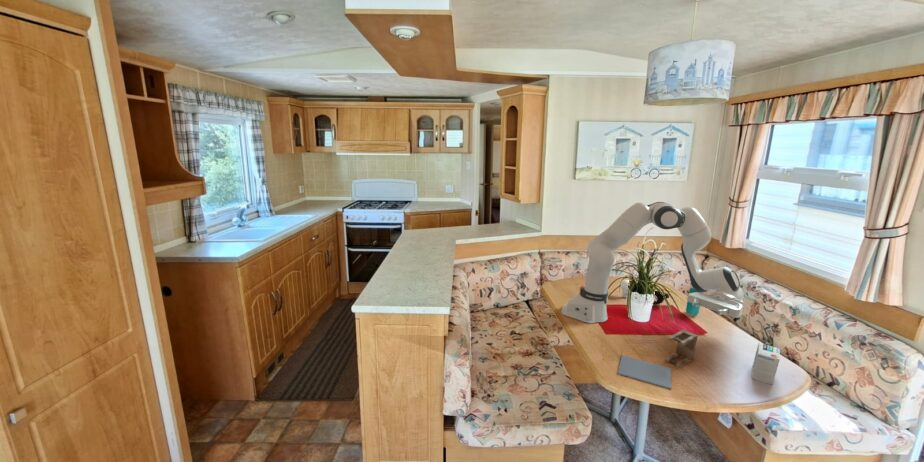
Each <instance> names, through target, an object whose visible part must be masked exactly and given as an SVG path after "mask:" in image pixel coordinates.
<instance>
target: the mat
mask: <svg viewBox="0 0 924 462" xmlns="http://www.w3.org/2000/svg"><path fill="white" fill-rule="evenodd" d="M617 375H620V376H624V377H626V378H627V377H628V378H630V379H633V380H637V381H641V382H644V383H648V384H651V385H653V386H656V387H657V386H658V387H660V388H661V387H662V388H665V389H668V390H672V368H671V367H667V366H663V365H661V364H660V365H659V364H656V363H652V362H649V361H645V360H642V359H641V360H640V359H638V358H634V357H629V356H627V355H621V357H620V361H619V367H618V371H617Z"/></svg>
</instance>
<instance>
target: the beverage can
mask: <svg viewBox="0 0 924 462" xmlns="http://www.w3.org/2000/svg"><path fill="white" fill-rule="evenodd" d="M693 292H699V291H697V290H695V289H694V288H693V287H692V285H690V288H689V291H688V294H690V293H693ZM699 293H701V292H699ZM702 293H703V294H704V292H702ZM692 304H693V303H690V302H688V301H687V302H686V308H685V310H686V311H685V312H686V314H687V315H688V316H691V317H696V316H698V314H699V313H700V308H701V306H699V305H698V306H693V305H692Z"/></svg>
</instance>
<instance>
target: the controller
mask: <svg viewBox="0 0 924 462" xmlns="http://www.w3.org/2000/svg"><path fill="white" fill-rule="evenodd" d="M664 293H665V296H666V299H669V298H670V295H669V293H667V292H664ZM654 297H656V300H655V301H654V304H653V305H660V304H662V303H664V300H666V299H664V298H663V296H662V295H661V294H660V292H659V291H655V295H654Z"/></svg>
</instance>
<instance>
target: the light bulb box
mask: <svg viewBox="0 0 924 462" xmlns="http://www.w3.org/2000/svg"><path fill="white" fill-rule="evenodd" d="M780 353H781V349H780V348H779V347H776V346H772V345H768V344H765V343H762V342H758V344H757V347H756V352H755V356H754V359H753V363H752V369H751V379H755V380H757V381H760V382H763V383H766V384H769V385H772V386H773V384H774V381H775V377H776V374H777V370H778V366H779V363H780V360H781V354H780Z"/></svg>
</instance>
